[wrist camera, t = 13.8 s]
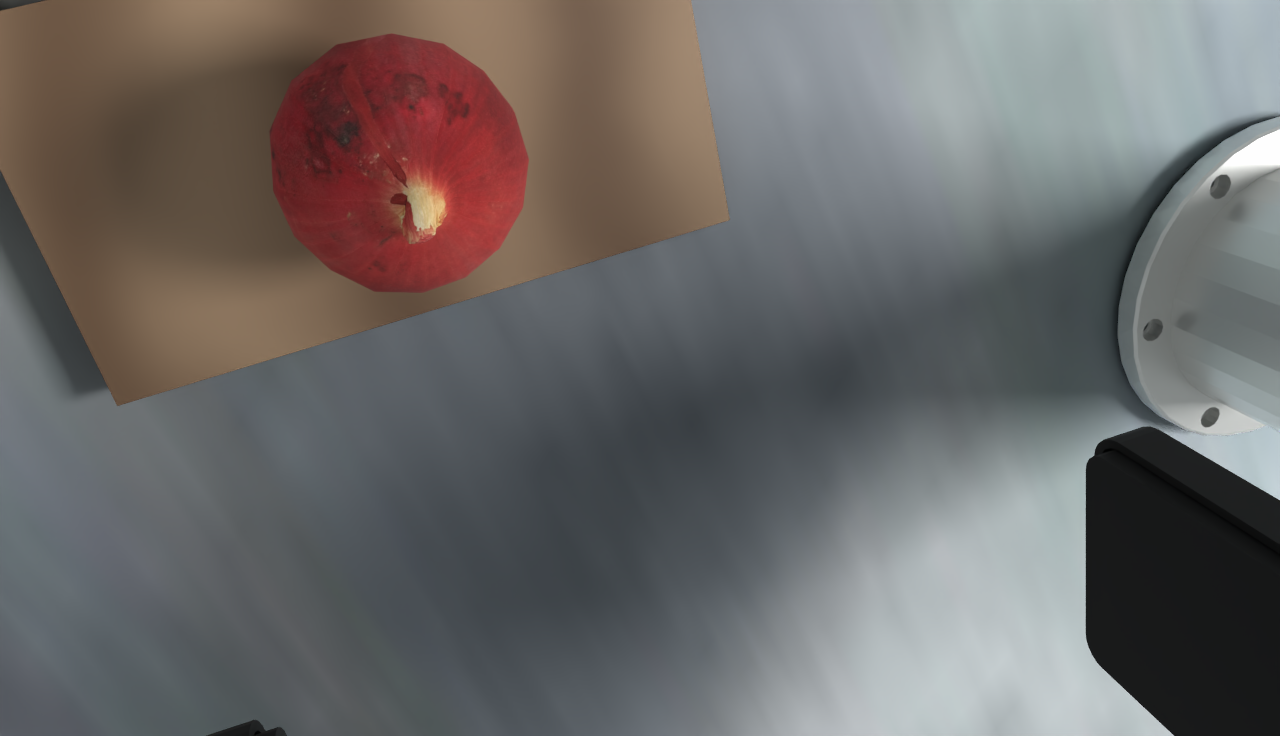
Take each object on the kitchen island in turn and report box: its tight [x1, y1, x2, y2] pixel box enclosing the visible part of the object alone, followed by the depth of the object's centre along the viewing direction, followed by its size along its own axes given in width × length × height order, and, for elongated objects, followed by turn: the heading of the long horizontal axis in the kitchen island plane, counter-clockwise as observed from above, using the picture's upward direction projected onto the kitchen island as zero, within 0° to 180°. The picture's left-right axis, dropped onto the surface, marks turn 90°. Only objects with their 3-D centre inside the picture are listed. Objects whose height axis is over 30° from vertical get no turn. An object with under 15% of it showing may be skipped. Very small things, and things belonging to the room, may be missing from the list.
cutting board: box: [0, 0, 730, 406], centre depth 27 cm, size 18×10×2 cm, turn 103°
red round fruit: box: [269, 33, 529, 293], centre depth 23 cm, size 6×6×8 cm
